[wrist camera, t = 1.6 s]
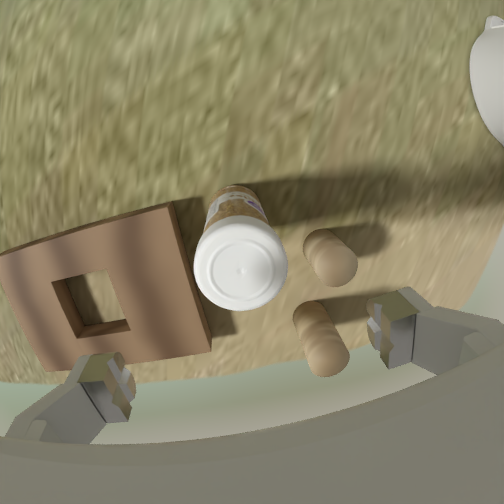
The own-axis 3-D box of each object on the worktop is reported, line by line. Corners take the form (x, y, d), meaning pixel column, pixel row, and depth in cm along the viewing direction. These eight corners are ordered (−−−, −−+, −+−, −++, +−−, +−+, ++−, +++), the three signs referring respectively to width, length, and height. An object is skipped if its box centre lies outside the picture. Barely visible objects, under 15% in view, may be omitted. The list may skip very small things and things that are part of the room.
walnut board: (172, 201, 27) (167, 207, 25) (211, 336, 32) (211, 351, 30) (4, 251, 27) (-9, 259, 25) (53, 359, 32) (46, 371, 30)
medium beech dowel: (324, 297, 31) (348, 340, 24) (326, 325, 33) (350, 370, 26) (290, 305, 31) (307, 350, 24) (295, 333, 33) (311, 381, 26)
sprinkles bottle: (270, 198, 28) (307, 250, 15) (246, 243, 29) (262, 326, 16) (221, 174, 27) (217, 207, 14) (198, 222, 28) (177, 293, 15)
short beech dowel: (336, 225, 29) (356, 242, 24) (339, 259, 30) (359, 281, 26) (300, 233, 29) (314, 252, 24) (305, 267, 30) (319, 291, 26)
